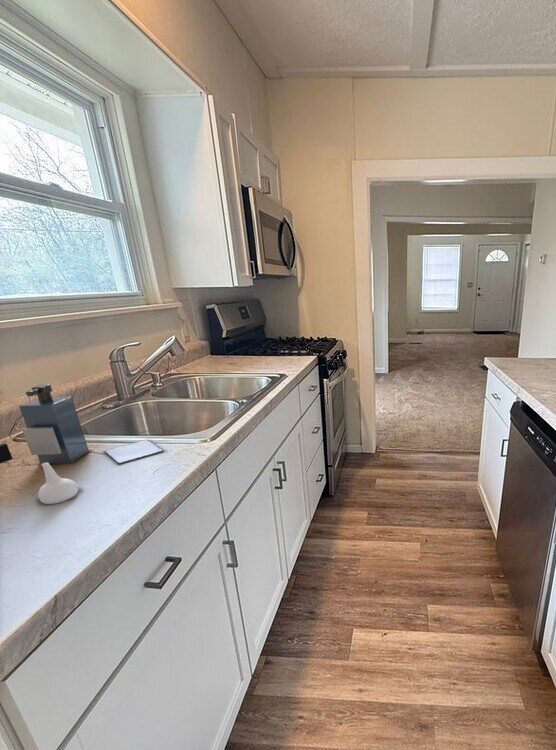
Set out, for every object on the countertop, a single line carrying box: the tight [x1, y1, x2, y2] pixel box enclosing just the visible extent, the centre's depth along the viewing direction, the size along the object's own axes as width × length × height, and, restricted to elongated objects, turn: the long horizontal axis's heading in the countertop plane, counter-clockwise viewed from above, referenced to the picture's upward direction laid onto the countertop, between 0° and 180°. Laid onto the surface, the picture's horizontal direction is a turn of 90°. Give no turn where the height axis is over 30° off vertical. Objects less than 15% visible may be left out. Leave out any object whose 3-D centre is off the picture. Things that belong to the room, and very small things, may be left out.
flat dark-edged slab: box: [104, 439, 164, 465], centre depth 102 cm, size 11×10×1 cm
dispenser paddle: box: [21, 427, 61, 456], centre depth 92 cm, size 1×6×6 cm, turn 93°
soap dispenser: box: [18, 384, 90, 464], centre depth 95 cm, size 8×7×19 cm
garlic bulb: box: [37, 462, 79, 505], centre depth 80 cm, size 6×6×8 cm
